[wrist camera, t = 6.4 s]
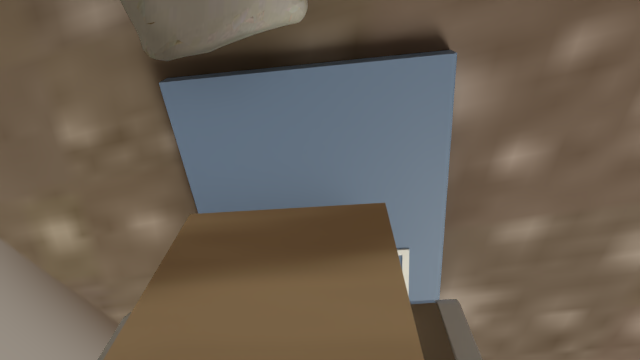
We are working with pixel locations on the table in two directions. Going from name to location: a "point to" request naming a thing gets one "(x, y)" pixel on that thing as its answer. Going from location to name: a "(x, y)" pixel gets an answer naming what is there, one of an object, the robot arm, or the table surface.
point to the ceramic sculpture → (205, 23)
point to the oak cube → (276, 290)
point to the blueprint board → (327, 144)
